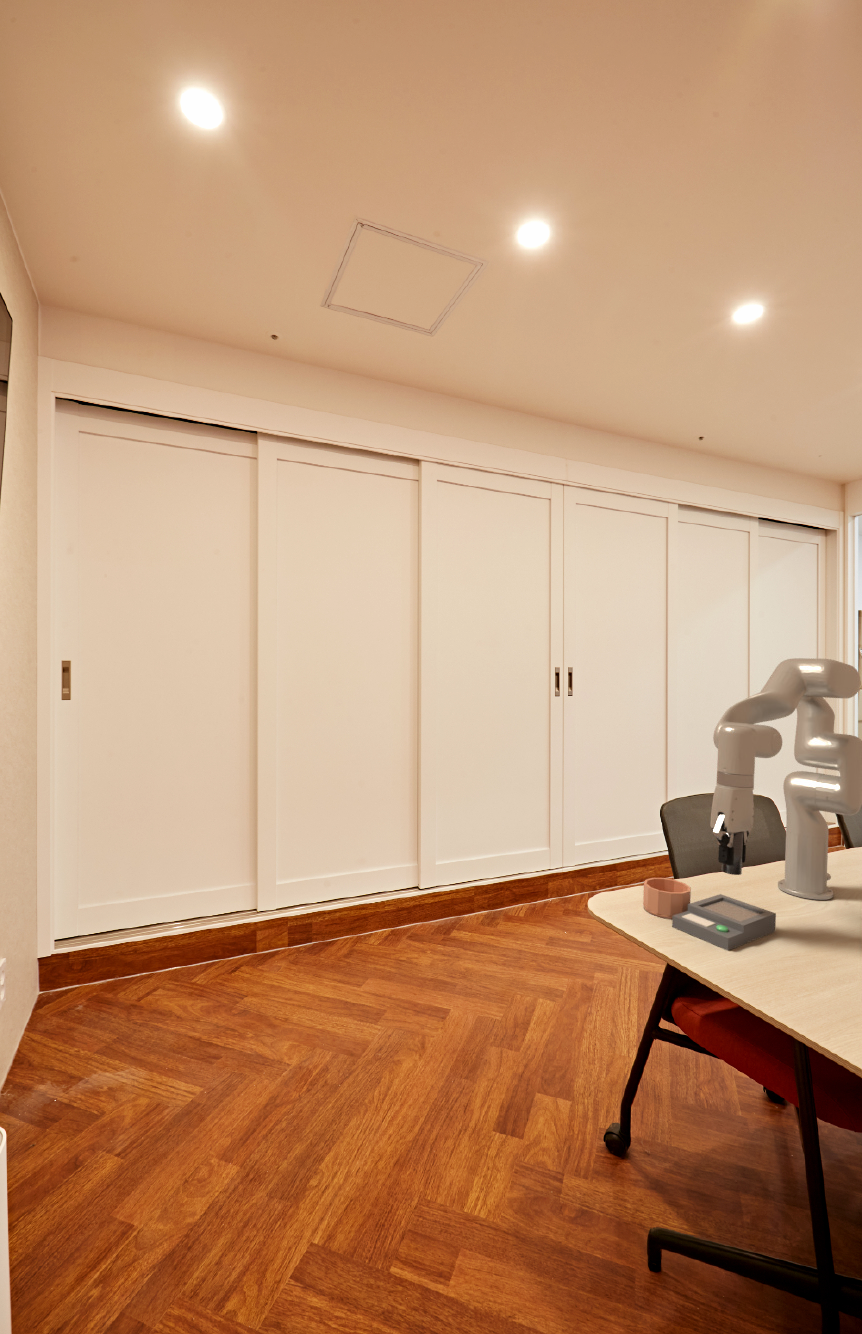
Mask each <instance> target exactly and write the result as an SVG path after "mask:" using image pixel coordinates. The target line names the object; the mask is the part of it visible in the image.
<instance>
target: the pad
mask: <svg viewBox="0 0 862 1334" xmlns="http://www.w3.org/2000/svg"><path fill="white" fill-rule="evenodd" d="M703 908H706V909H709V910H711V911H714V912H717V913H719V914H722V915H725V916H727V917H730V918H733V919H735V920H738V921H743V920H746V919H749V918H751V917H754V916H757V915H759V914H760V913H758V912H755V911H752V910H749V909H746V908H744V907H741V906H738V905H735V904H732V903H729V902H727V901H724V900H723V901H720V902H717V903H714V904H711V905H707V906H704V907H703Z"/></svg>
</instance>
